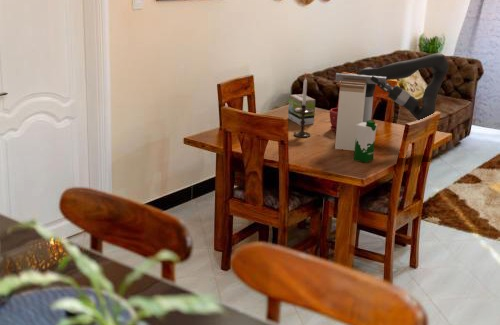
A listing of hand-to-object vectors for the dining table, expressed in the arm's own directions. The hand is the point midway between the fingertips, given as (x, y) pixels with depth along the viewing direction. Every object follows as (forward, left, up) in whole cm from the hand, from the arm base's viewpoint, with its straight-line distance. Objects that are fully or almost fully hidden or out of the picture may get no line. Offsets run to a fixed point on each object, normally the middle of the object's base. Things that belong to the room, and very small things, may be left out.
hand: (371, 77), depth 354 cm
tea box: (-47, -13, -35) cm, 61 cm away
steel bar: (-3, -4, -3) cm, 6 cm away
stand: (0, -11, -35) cm, 37 cm away
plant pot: (-23, -1, -35) cm, 42 cm away
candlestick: (-21, -27, -35) cm, 49 cm away
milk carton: (+26, -19, -35) cm, 48 cm away
